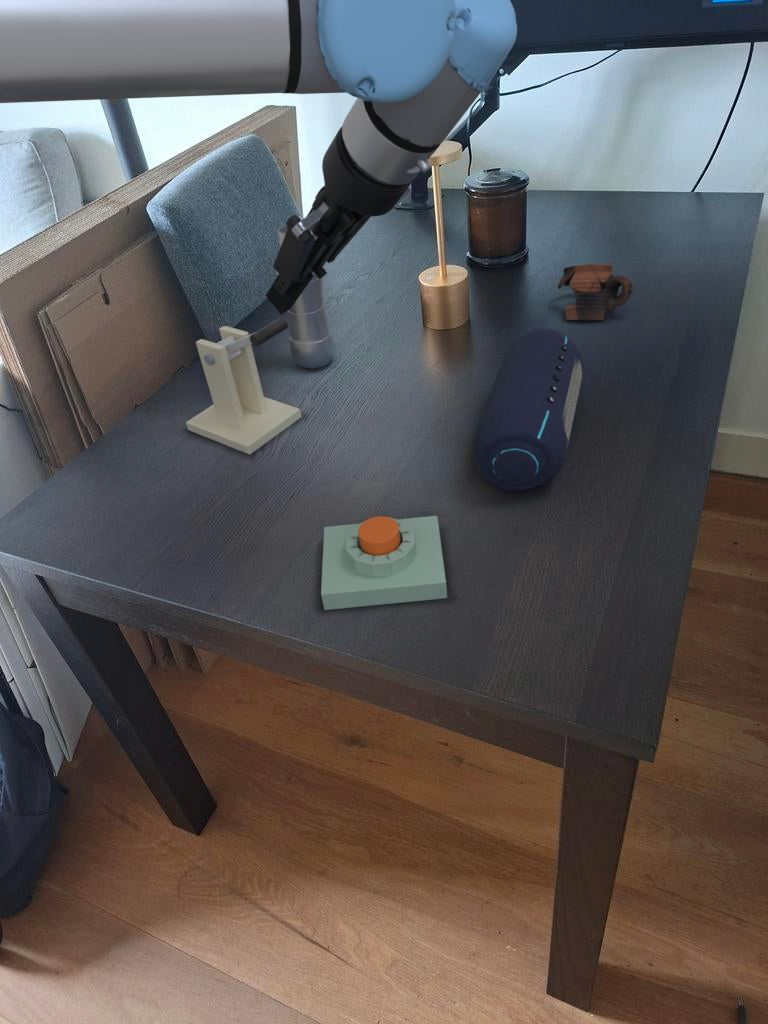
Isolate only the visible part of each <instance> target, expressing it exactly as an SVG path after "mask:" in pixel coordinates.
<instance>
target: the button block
mask: <svg viewBox="0 0 768 1024" xmlns="http://www.w3.org/2000/svg"><path fill="white" fill-rule="evenodd" d="M388 517H389V518H391V519H393V520H395V521H396V522H397V524H398V527H399V534H400V544H399V546H398V548H397V549H396V550H395V551H393V552H391V553H389V554H387V555H379V556H373V555H369V554H367V553H365V552H364V551H363V550H362V549H361V546H360V541H359V535H358V529H359V527H360V525H361V524H362V523H363V522H364V521H362V522H359V523H350V524H342V525H341V524H340V525H332V526H331V525H330V526H324V528H323V543H322V544H323V545H322V564H321V565H322V567H321V587H320V596H321V601H322V606H323V609H324V611H329V610H331V611H332V610H338V609H350V608H359V607H360V608H361V607H371V606H381V605H391V604H392V605H393V604H401V603H411V602H412V603H413V602H422V601H433V600H442V599H448V589H447V588H448V587H447V579H446V572H445V571H446V570H445V564H444V557H443V556H444V555H443V548H442V540H441V533H440V527H439V518H438V515H428V516H420V517H409V518H399V519H398V518H393V517H390V516H388Z"/></svg>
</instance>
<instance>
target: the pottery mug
mask: <svg viewBox="0 0 768 1024" xmlns="http://www.w3.org/2000/svg"><path fill="white" fill-rule="evenodd" d="M562 271H563V276H562V277H561V278H560V280H559V283H558V285H557V289H558V290H560V289H561V288H563V287H564V286H566V287H569V288H570V290H571V291H573V295H574V300H575V303H572V304H567V305H565V306H564V314H565V320H566V321H582V320H583V321H604V318H605V314H606V310H608V311H609V312H610V313H613V312H615V310H616V309H617V308H618V307H620V306H623V305H624V304H625V303H626V302H627V301H628V300H629V299H630V297H631V295H632V293H633V292H634V290H633V283H632V281H631V279H630V278H629V277H627V276H623V275H616V276H615V275H614V274H613V265H611V264H607V263H589V264H588V263H587V264H578V265H571V266H567V267H564V268H563V270H562ZM620 287H621V291H620ZM619 291H620V293H619ZM618 294H619V295H618Z"/></svg>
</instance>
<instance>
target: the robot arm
mask: <svg viewBox="0 0 768 1024" xmlns="http://www.w3.org/2000/svg"><path fill="white" fill-rule="evenodd" d="M517 35H518V25H517V14H516V11H515V8H514V6H513V4H512V1H511V0H0V104H15V103H19V104H20V103H40V102H41V103H42V102H69V101H70V102H71V101H73V102H74V101H98V100H99V101H100V100H101V101H102V100H128V99H129V100H130V99H153V98H179V97H180V98H184V97H209V96H236V95H237V96H238V95H239V96H240V95H264V94H265V95H266V94H269V95H270V94H293V95H294V94H295V95H310V94H311V95H315V94H348V95H350V96H351V97H354V98H356V100H355V101H354V103H353V105H352V106H351V107H350V110H349V111H348V112H347V114H346V115H345V118H344V120H343V122H342V125H341V126H340V128H339V129H338V131H337V132H336V134H335V136H334V137H333V139H332V141H331V143H330V144H329V146H328V148H327V149H326V151H325V152H324V155H323V158H322V162H321V168H322V169H321V170H322V176H323V181H324V186H321V188H319V191H318V192H317V194H316V195H315V198H314V201H313V202H312V205H311V208H310V210H309V211H308V213H307V215H306V216H305V217H303V216H302V215H297V214H293V215H291V216H290V217H289V218H288V220H286V222H285V224H286V225H287V232H286V235H285V237H284V240H283V242H282V245H281V246H280V248H279V250H278V253H277V255H276V258H275V260H274V262H273V265H272V268H273V269H274V271H275V270H276V271H277V272H278V273H279V275H278V277H277V276H276V278H275V279H274V281H273V283H272V284H271V286H270V287H269V289H268V290H267V292H266V294H265V297H266V298H267V300H268V301H269V302H270V304H272V305H273V307H274V308H275V309H276V310H277V312H278V313H279V314H280V315H283V314H285V313H287V311H288V310H290V309H291V308H292V306H293V305H294V303H295V302H296V300H297V299H298V298H299V296H300V295H301V293H302V292H303V291H304V289H305V288H306V286H307V285H308V283H309V282H310V281H311V279H312V278H313V275H312V273H313V272H314V273H315V274H316V276H317V277H318V278H319V279H321V278H322V279H323V278H324V277H325V276H326V275H327V274H328V272H327V270H325V268H324V266H325V264H330V263H333V262H334V261H335V260H336V258H337V257H338V256H339V255H340V254H341V252H342V251H343V250H344V249H345V248H346V246H347V245H348V244H349V243H350V242H351V241H352V240H353V238H354V237H355V236H356V235H357V234H358V233H359V232H360V231H361V229H362V228H363V227H364V226H365V225H366V224H367V222H368V221H369V220H370V219H371V217H380V216H384V215H386V214H388V213H390V212H391V211H392V210H393V209H394V208H395V206H396V205H397V204H398V202H399V201H400V200H401V198H402V197H403V196H404V195H405V193H406V192H407V191H408V189H409V188H410V187H411V185H412V183H413V181H414V180H415V179H416V178H417V177H418V175H419V173H420V172H422V173H423V174H425V173H429V171H430V170H431V168H432V163H431V162H430V161H429V159H430V158H431V157H432V156H433V154H435V152H436V151H437V150H438V149H439V147H440V146H441V144H442V143H443V142H445V140H446V139H447V137H448V136H449V135H450V133H451V132H452V131H453V129H454V128H455V127H456V125H457V124H458V123H459V122H460V120H462V118H463V117H464V115H465V114H466V113H467V111H468V110H469V109H470V108H471V106H472V105H473V104H474V102H475V101H476V100H477V99H478V97H479V96H480V94H481V93H482V92H483V91H486V89H487V88H489V86H490V84H491V81H492V80H493V79H494V77H495V75H496V73H497V72H498V70H499V69H500V67H501V66H502V65H503V64H504V62H505V60H506V59H507V56H508V55H509V53H510V51H511V50H512V49H513V46H514V44H515V42H516V40H517ZM286 225H285V226H286Z"/></svg>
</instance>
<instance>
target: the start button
mask: <svg viewBox="0 0 768 1024" xmlns="http://www.w3.org/2000/svg"><path fill="white" fill-rule="evenodd" d="M389 517H390V516H373V517H370V518H368V519H365V520H364V521H362V522H363V523H362V522H361V523H362V524H361V525H360V527H359V529H358V535H359V541H360V546H361V549H362V550H363V551H364V552H365V553H367V554H369V555H373V556H379V555H387V554H389V553H391V552H393V551H395V550H396V549H397V548H398V546H399V544H400V534H399V527H398V524H397V522H396V521H395V520H393V519H391V518H392V517H390V518H389Z"/></svg>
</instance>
